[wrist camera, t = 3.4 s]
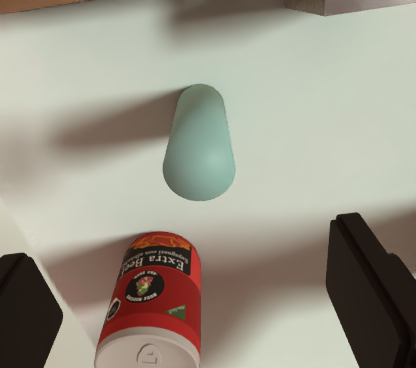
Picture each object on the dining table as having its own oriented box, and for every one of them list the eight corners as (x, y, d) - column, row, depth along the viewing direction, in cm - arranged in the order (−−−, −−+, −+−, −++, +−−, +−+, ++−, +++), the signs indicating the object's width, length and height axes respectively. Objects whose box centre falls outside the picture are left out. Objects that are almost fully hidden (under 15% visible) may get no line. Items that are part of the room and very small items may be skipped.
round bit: (226, 127, 26) (238, 196, 17) (181, 133, 26) (170, 204, 17) (221, 80, 24) (231, 132, 15) (173, 87, 24) (155, 142, 15)
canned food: (195, 225, 30) (191, 330, 21) (205, 284, 35) (206, 394, 25) (115, 233, 31) (76, 340, 21) (135, 290, 35) (109, 402, 26)
